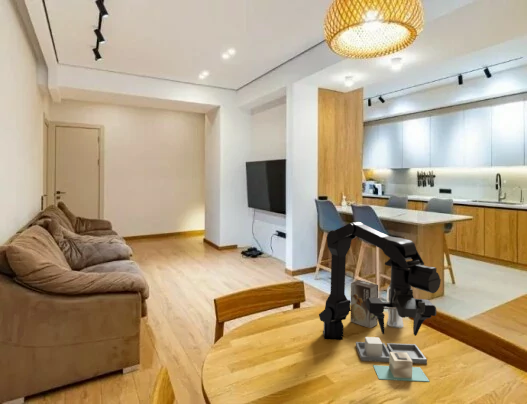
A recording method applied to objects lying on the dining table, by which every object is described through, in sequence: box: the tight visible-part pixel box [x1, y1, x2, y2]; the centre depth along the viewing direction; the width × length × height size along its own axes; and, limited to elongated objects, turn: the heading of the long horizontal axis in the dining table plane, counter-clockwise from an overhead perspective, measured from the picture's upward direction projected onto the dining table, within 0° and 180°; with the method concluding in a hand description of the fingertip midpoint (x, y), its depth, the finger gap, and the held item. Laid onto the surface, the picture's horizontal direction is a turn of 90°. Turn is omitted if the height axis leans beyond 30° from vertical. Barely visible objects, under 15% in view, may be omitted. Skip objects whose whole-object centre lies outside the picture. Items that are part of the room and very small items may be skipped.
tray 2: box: [386, 342, 428, 365], centre depth 111 cm, size 10×10×2 cm
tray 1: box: [355, 341, 390, 363], centre depth 112 cm, size 10×10×2 cm
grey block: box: [364, 336, 383, 356], centre depth 112 cm, size 4×4×4 cm
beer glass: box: [386, 285, 404, 329], centre depth 134 cm, size 7×7×15 cm
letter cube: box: [388, 352, 414, 378], centre depth 100 cm, size 5×5×5 cm
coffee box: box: [350, 279, 379, 329], centre depth 136 cm, size 9×6×16 cm
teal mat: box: [372, 364, 430, 383], centre depth 101 cm, size 14×7×1 cm, turn 85°
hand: (398, 334), depth 101 cm, fingers open, 9 cm apart
